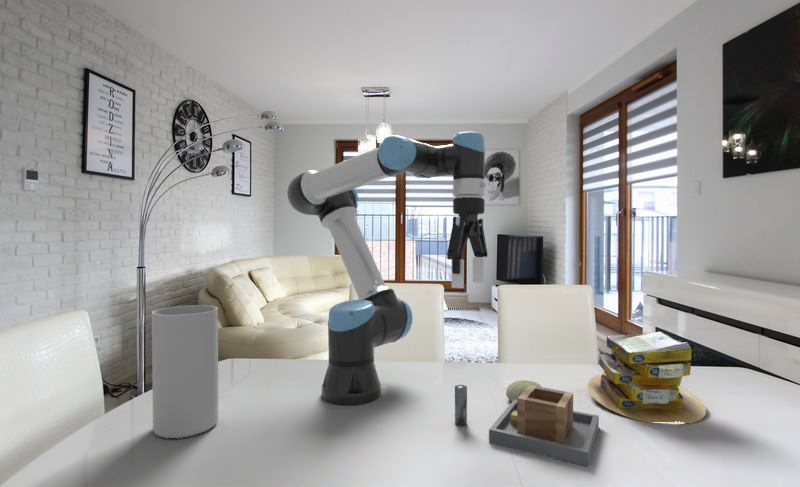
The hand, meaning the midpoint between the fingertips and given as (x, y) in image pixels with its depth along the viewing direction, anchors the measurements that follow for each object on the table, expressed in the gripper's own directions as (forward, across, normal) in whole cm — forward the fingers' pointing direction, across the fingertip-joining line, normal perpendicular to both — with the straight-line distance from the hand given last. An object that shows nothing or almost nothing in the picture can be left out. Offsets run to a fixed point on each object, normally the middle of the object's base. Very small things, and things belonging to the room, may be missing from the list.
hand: (468, 285), depth 104 cm
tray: (+29, -8, -20) cm, 36 cm away
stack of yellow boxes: (+29, +22, -37) cm, 52 cm away
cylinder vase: (+29, -43, +47) cm, 70 cm away
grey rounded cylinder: (+29, -12, -3) cm, 31 cm away
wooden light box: (+28, -8, -19) cm, 34 cm away
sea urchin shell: (+29, +8, -12) cm, 32 cm away
